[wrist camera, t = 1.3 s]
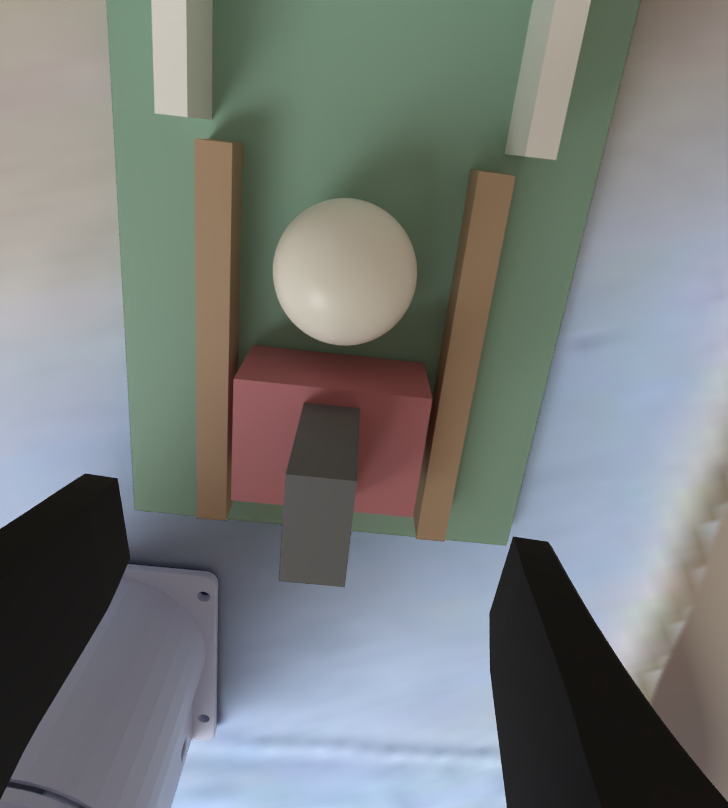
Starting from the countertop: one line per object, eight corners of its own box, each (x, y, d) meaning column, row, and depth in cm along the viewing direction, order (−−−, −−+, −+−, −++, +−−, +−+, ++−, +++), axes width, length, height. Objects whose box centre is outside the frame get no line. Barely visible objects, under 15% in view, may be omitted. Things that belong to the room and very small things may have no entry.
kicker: (407, 468, 21) (422, 610, 15) (249, 453, 21) (196, 589, 15) (424, 363, 20) (448, 470, 13) (252, 344, 20) (195, 445, 13)
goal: (531, 157, 17) (581, 163, 13) (183, 116, 17) (124, 110, 13) (579, -77, 15) (657, -158, 11) (181, -129, 15) (107, -231, 11)
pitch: (502, 532, 24) (514, 571, 22) (141, 498, 23) (119, 534, 21) (655, -106, 16) (699, -143, 14) (108, -177, 15) (66, -228, 13)
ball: (403, 329, 20) (410, 373, 16) (279, 316, 19) (258, 357, 16) (421, 200, 18) (433, 215, 14) (286, 184, 18) (264, 196, 14)
